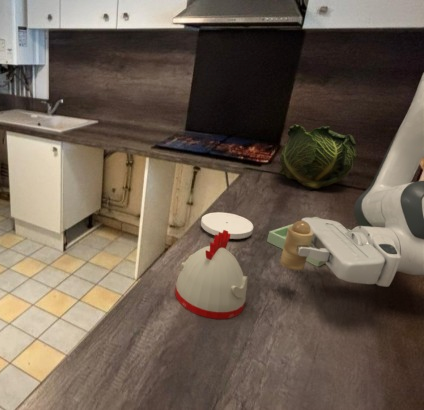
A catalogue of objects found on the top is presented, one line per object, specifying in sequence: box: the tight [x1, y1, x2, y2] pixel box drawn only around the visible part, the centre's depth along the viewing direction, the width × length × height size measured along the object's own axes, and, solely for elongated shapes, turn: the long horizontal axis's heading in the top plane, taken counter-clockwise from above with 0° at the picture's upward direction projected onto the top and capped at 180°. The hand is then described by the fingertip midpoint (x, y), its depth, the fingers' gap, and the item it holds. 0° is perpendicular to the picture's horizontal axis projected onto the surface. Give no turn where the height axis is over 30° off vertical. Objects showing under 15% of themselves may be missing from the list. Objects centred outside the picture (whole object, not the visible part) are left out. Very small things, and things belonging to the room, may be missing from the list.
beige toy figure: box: [279, 220, 313, 271], centre depth 73 cm, size 4×4×10 cm
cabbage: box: [278, 124, 358, 191], centre depth 135 cm, size 25×24×23 cm
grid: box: [266, 216, 352, 268], centre depth 95 cm, size 14×21×3 cm
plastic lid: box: [200, 211, 254, 240], centre depth 103 cm, size 14×14×2 cm
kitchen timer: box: [174, 230, 248, 320], centre depth 73 cm, size 14×14×15 cm
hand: (292, 243), depth 73 cm, fingers closed on beige toy figure, 4 cm apart
